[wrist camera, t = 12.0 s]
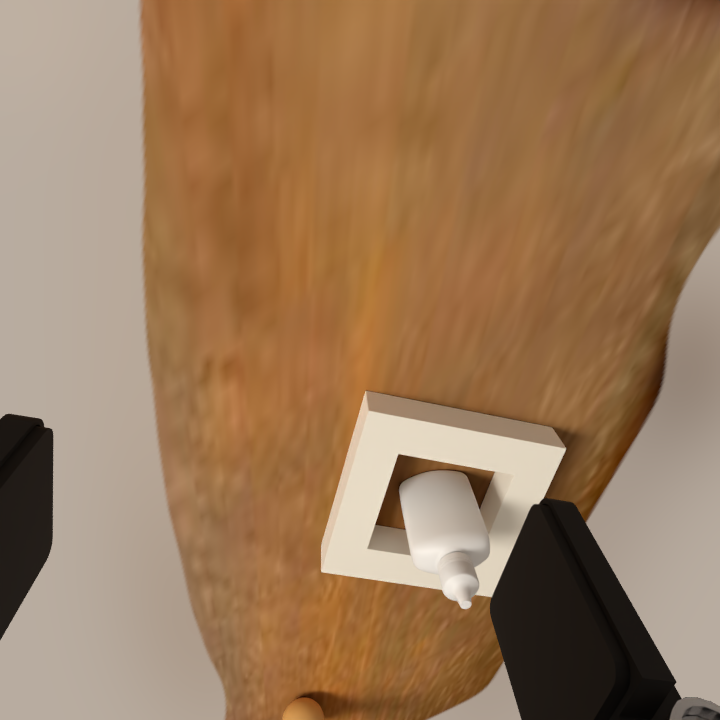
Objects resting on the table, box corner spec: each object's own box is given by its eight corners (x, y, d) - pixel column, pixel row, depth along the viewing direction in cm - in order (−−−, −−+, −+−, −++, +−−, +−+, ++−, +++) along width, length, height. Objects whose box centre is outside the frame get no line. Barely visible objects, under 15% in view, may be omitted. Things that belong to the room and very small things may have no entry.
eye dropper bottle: (453, 515, 49) (490, 637, 38) (390, 499, 48) (411, 620, 37) (475, 474, 48) (521, 589, 37) (411, 456, 47) (438, 569, 36)
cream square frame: (365, 390, 44) (368, 410, 41) (552, 427, 46) (566, 448, 43) (321, 545, 50) (321, 571, 47) (488, 570, 52) (497, 597, 49)
